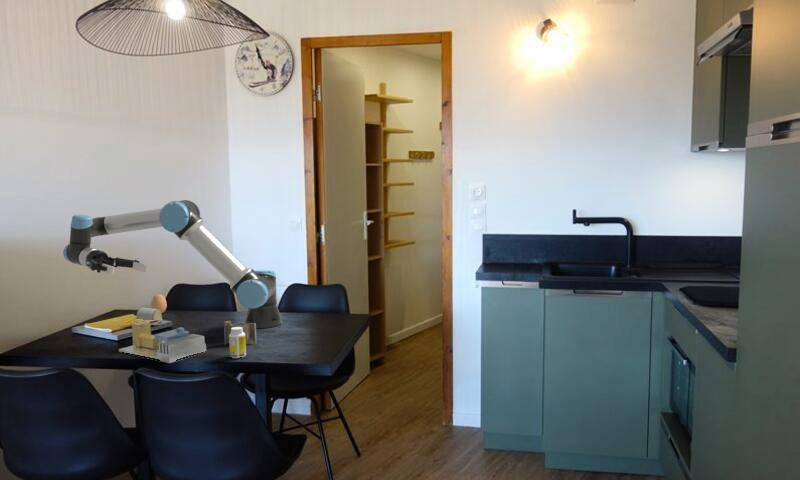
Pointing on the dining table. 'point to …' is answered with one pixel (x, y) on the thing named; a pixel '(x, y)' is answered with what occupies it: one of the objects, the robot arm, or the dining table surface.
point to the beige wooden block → (144, 335)
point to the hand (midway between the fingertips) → (129, 269)
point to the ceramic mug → (148, 314)
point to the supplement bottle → (237, 342)
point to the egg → (159, 303)
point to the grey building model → (171, 346)
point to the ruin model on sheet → (247, 329)
